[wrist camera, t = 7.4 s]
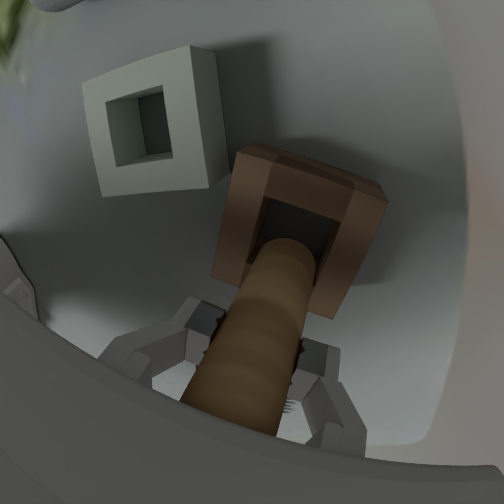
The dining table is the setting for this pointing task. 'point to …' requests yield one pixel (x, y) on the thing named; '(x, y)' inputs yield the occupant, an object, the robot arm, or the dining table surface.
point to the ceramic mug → (54, 4)
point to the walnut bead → (309, 198)
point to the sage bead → (179, 122)
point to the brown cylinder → (257, 341)
